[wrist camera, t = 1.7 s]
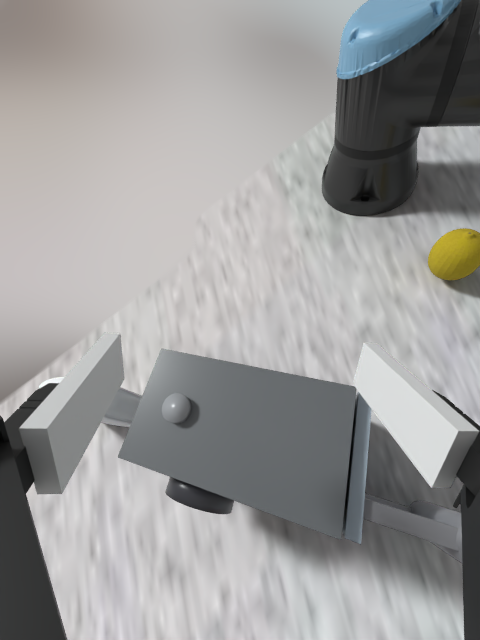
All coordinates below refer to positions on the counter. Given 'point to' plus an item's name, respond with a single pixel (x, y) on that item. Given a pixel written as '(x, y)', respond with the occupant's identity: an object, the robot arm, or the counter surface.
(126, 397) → the photo printer
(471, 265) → the lemon
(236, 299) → the counter surface
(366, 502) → the side door
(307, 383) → the grey cabinet
